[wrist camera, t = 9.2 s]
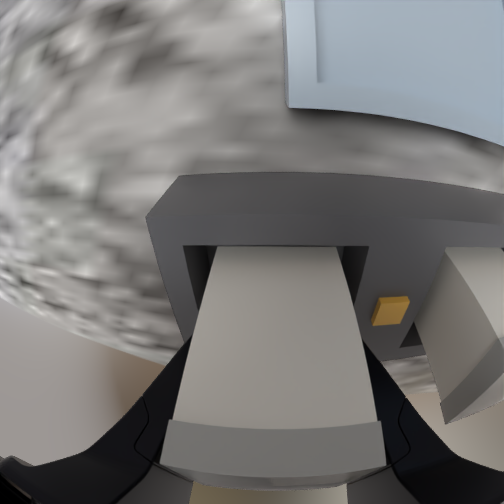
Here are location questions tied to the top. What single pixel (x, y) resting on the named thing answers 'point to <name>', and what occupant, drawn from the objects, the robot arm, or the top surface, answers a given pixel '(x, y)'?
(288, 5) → the tray
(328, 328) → the plug
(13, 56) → the top surface
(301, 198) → the grey boxy piece
